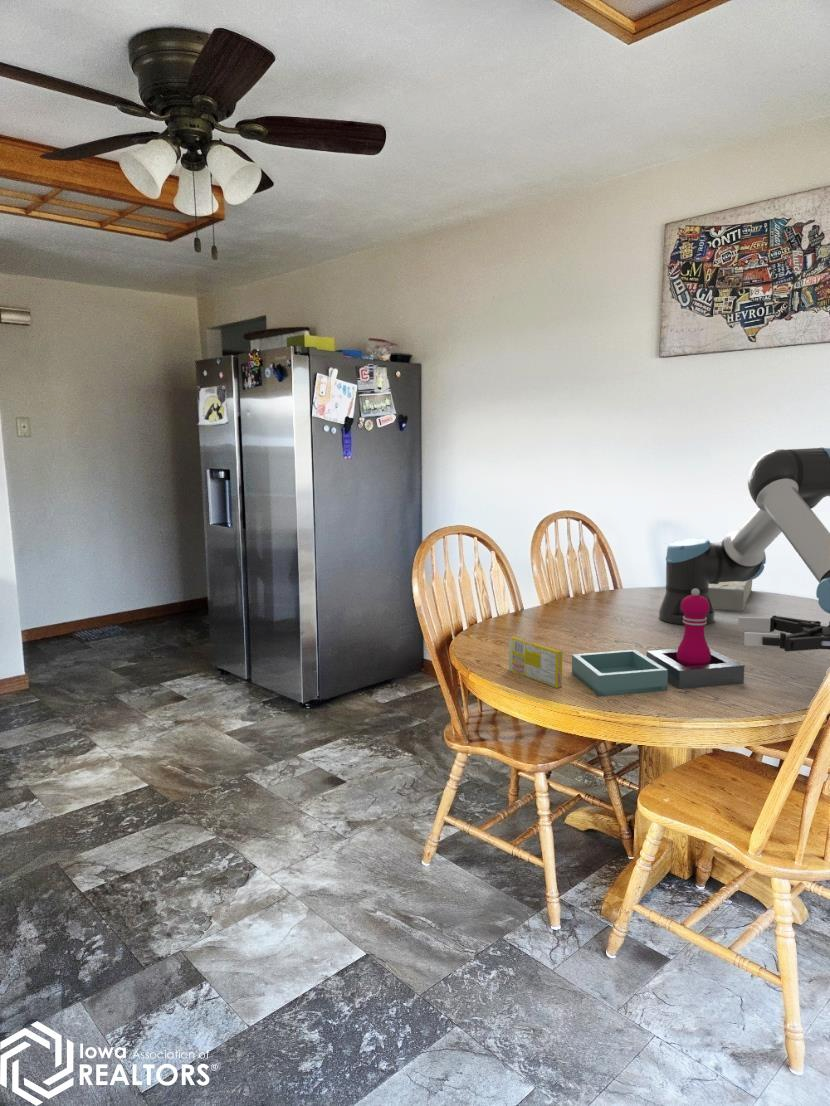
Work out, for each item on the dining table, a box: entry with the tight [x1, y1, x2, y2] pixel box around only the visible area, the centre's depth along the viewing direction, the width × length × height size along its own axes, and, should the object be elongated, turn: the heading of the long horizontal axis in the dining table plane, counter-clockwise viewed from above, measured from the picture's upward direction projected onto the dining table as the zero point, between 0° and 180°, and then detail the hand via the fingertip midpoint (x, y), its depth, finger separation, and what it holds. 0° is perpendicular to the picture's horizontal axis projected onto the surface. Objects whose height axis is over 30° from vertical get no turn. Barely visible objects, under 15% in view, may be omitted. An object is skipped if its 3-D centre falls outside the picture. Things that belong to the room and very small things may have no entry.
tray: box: [571, 649, 668, 697], centre depth 158 cm, size 15×15×4 cm
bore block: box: [646, 647, 745, 690], centre depth 161 cm, size 15×15×4 cm
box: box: [708, 580, 753, 612], centre depth 235 cm, size 23×8×32 cm
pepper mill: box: [677, 588, 711, 666], centre depth 159 cm, size 7×7×20 cm
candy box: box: [508, 635, 563, 689], centre depth 162 cm, size 16×2×8 cm, turn 33°
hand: (741, 630), depth 156 cm, fingers open, 13 cm apart
